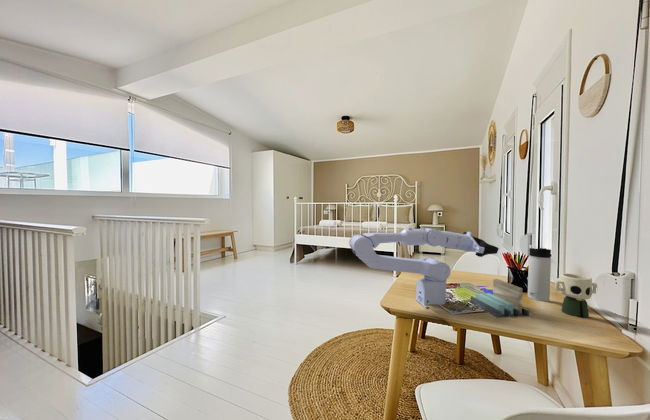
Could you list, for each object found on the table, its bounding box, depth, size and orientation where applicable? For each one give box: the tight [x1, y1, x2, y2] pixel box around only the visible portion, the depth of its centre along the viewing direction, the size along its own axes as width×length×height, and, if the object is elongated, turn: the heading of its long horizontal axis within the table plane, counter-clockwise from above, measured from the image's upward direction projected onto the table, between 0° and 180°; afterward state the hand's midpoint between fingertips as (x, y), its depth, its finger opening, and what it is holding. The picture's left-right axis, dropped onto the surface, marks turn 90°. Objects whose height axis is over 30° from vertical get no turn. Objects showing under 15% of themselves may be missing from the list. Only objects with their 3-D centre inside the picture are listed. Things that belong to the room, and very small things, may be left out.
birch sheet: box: [492, 278, 524, 313], centre depth 86 cm, size 2×10×8 cm, turn 8°
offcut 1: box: [475, 293, 505, 314], centre depth 85 cm, size 2×10×3 cm, turn 8°
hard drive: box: [476, 285, 493, 295], centre depth 102 cm, size 2×8×12 cm
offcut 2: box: [483, 293, 514, 314], centre depth 86 cm, size 2×10×3 cm, turn 7°
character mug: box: [554, 272, 598, 319], centre depth 81 cm, size 11×7×13 cm, turn 75°
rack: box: [465, 296, 535, 319], centre depth 86 cm, size 13×14×2 cm
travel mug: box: [527, 247, 552, 303], centre depth 94 cm, size 6×7×20 cm
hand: (489, 246), depth 92 cm, fingers open, 7 cm apart
